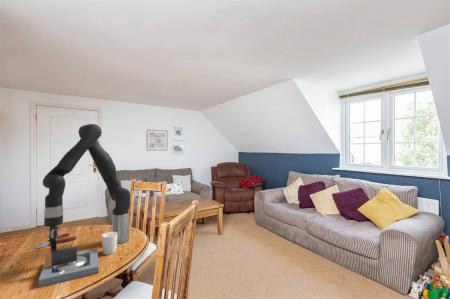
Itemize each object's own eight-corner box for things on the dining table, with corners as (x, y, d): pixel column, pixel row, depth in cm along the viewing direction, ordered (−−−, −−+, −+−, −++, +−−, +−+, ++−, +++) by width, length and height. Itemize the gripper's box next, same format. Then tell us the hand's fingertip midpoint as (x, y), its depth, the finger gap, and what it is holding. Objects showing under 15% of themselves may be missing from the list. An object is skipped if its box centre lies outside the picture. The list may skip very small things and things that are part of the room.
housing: (97, 253, 125) (97, 248, 125) (98, 272, 106) (98, 266, 106) (46, 263, 114) (47, 257, 114) (38, 287, 95) (38, 279, 95)
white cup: (120, 250, 130) (120, 232, 130) (109, 256, 122) (109, 237, 122) (109, 248, 132) (109, 231, 132) (98, 254, 125) (98, 235, 125)
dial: (86, 258, 118) (86, 240, 118) (86, 269, 108) (86, 249, 108) (47, 266, 110) (47, 247, 110) (42, 279, 100) (43, 257, 100)
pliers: (29, 247, 133) (29, 243, 133) (67, 236, 150) (67, 232, 150) (39, 252, 127) (39, 247, 127) (77, 240, 145) (77, 236, 145)
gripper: (61, 217, 109) (61, 253, 110) (64, 210, 121) (64, 243, 121) (42, 219, 106) (41, 256, 106) (46, 212, 117) (46, 246, 117)
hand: (53, 249), depth 113 cm, fingers closed
